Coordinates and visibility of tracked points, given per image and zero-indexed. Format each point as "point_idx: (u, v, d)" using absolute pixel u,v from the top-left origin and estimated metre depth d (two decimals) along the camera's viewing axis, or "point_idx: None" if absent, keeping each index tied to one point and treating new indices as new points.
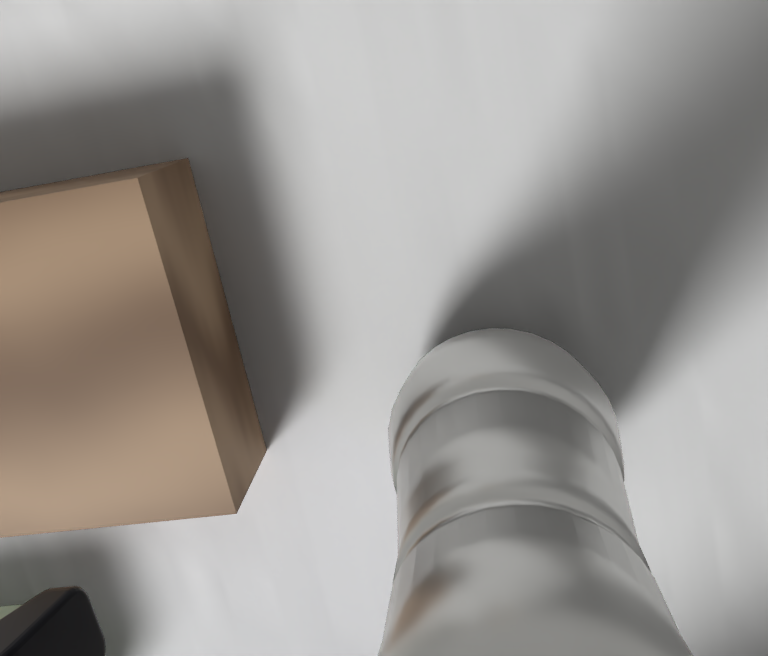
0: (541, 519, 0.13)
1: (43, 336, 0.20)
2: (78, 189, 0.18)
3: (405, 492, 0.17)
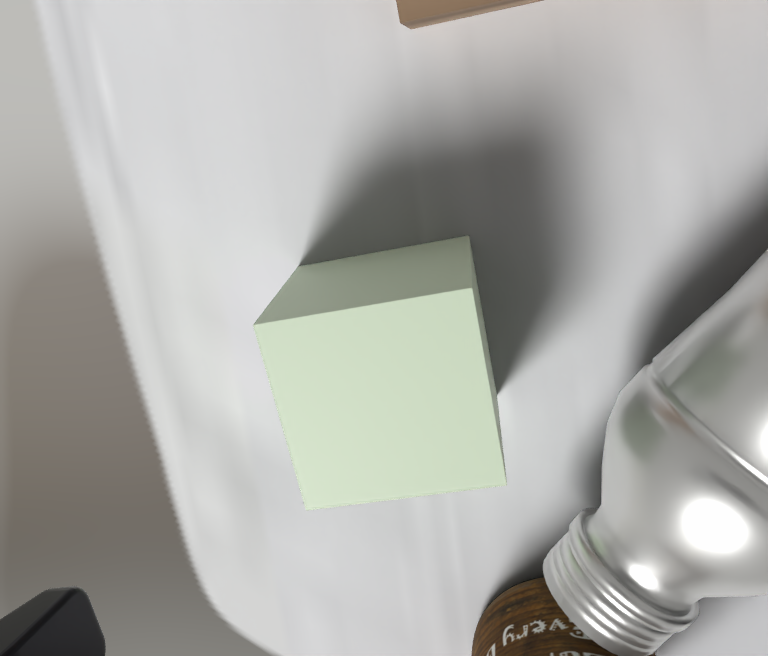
0: None
1: None
2: None
3: None
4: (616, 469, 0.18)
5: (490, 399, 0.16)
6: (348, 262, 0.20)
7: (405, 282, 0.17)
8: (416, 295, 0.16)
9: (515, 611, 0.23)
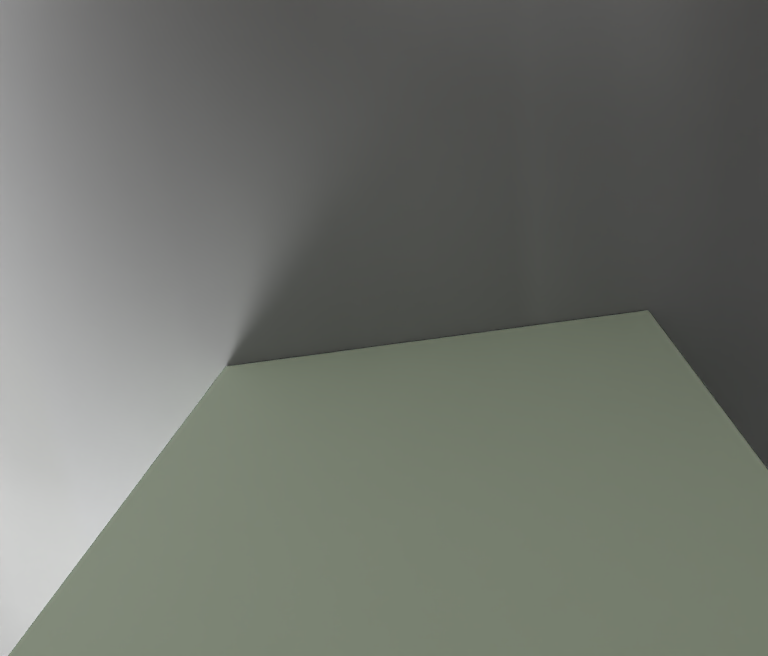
0: None
1: None
2: None
3: None
4: None
5: None
6: (344, 373, 0.08)
7: (544, 522, 0.05)
8: (634, 653, 0.04)
9: None
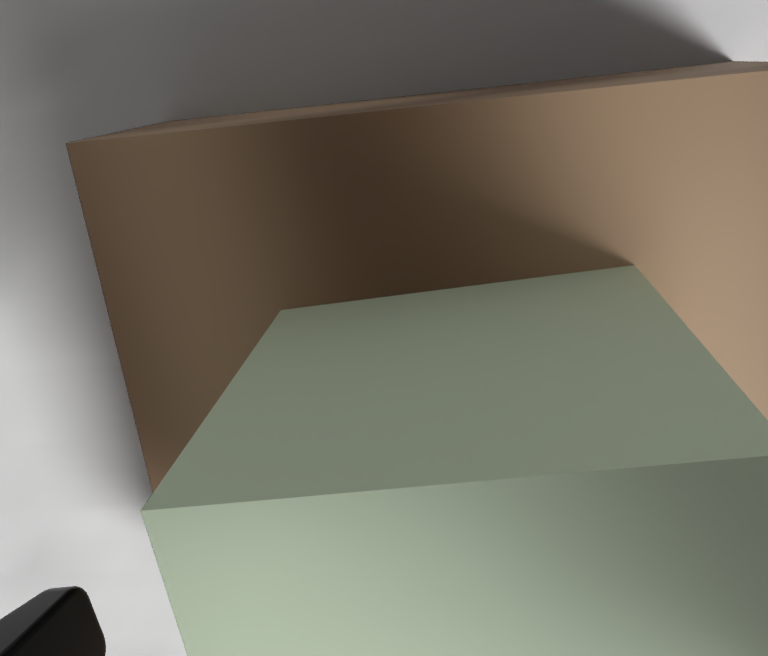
0: None
1: None
2: (96, 257, 0.11)
3: None
4: None
5: None
6: (384, 312, 0.10)
7: (550, 395, 0.07)
8: (615, 459, 0.05)
9: None
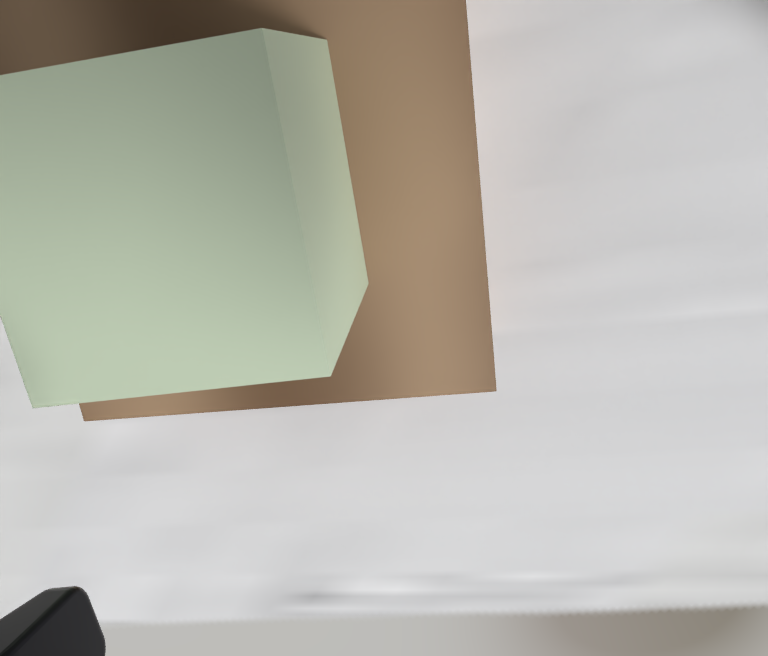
0: None
1: None
2: None
3: None
4: None
5: (299, 229, 0.10)
6: None
7: None
8: (176, 43, 0.10)
9: None
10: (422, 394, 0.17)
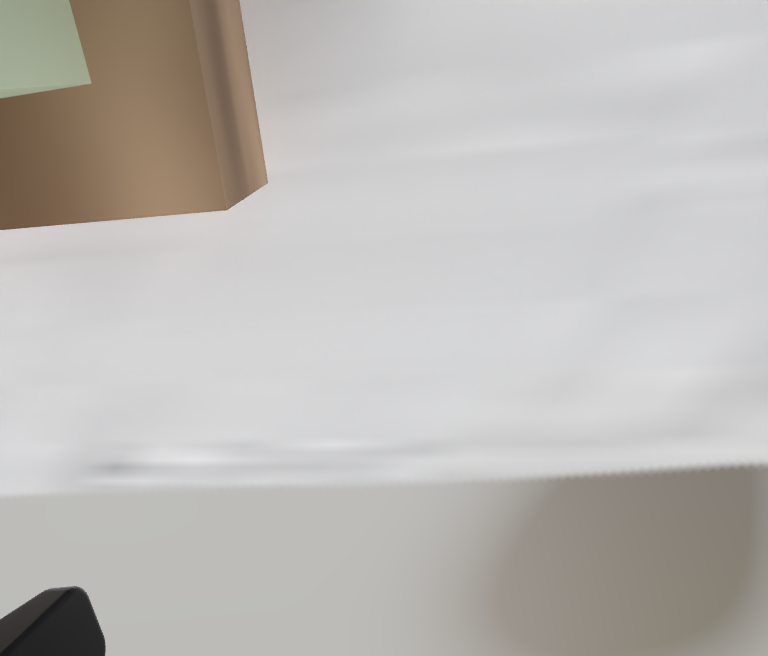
0: None
1: None
2: None
3: None
4: None
5: None
6: None
7: None
8: None
9: None
10: (154, 215, 0.16)
